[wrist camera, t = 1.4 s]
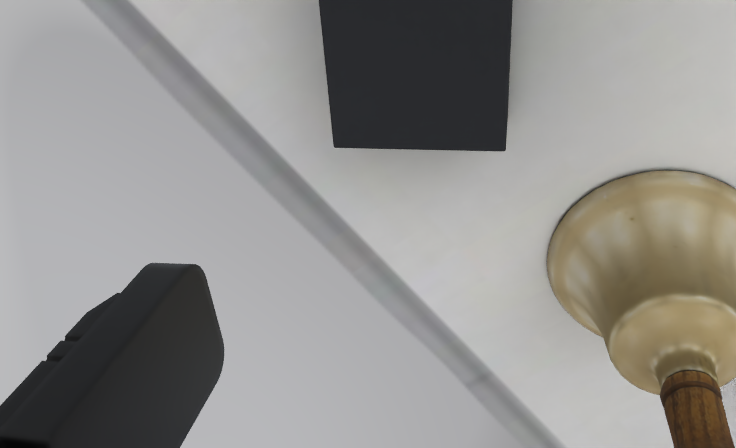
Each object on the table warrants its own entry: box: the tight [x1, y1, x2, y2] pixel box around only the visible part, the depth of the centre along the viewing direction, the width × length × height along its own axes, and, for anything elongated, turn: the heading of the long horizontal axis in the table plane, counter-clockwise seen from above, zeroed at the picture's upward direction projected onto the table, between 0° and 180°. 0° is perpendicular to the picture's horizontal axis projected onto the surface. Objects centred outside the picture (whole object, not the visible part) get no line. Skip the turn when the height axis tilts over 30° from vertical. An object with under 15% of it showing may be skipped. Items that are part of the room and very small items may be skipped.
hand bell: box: [547, 171, 736, 448], centre depth 19 cm, size 8×8×16 cm
